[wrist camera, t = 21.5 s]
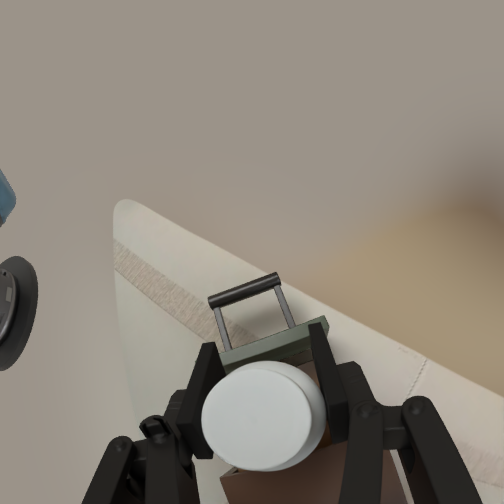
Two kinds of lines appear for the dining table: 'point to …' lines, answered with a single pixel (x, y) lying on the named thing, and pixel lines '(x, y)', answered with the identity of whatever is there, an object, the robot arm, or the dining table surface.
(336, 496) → the cabinet
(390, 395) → the dining table surface
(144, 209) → the dining table surface
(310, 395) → the pill bottle
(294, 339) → the drawer
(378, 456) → the robot arm
